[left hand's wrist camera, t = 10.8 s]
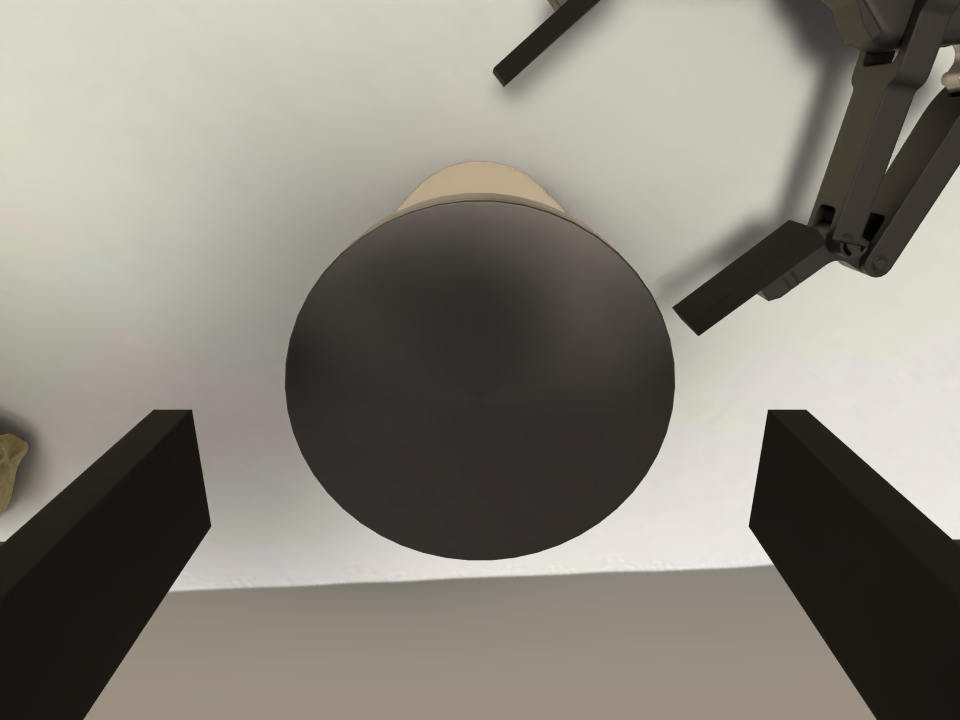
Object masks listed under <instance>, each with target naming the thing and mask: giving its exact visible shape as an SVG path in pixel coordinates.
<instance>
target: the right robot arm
mask: <svg viewBox="0 0 960 720" xmlns="http://www.w3.org/2000/svg"><path fill="white" fill-rule="evenodd" d="M599 1H600V0H548V2H549V3H550V5H551V6H552V7H553V9H554V10H555V13H554V14H553V15H551V16H550V17H549V18H548V19H547V20H546V21H545V22H544V23H543V24H542V25H540V26H539V27H538V28H537V29H536V30H535V31H534V32H533V33H532V34H531V35H529V36H528V37H527V38H526V39H525V40H524V41H523V42H522V43H521V44H520V45H519V46H517V47H516V48H515V49H514V50H513V51H512V52H511V53H510V54H509V55H508V56H506V57H505V58H504V59H503V60H502V61H501V62H500V63H499V64H498V65H497V66H495V67H494V70H493V74H494V75H495V76H496V78H497V79H498V80H499V81H500V83H501V84H502V85H503V87H504V86H506V85H507V84H508V83H509V82H510V81H511V80H512V79H513V78H514V77H516V76H517V75H518V74H519V73H520V72H521V71H522V70H523V69H524V68H526V67H527V66H528V65H529V64H530V63H531V62H532V61H533V60H534V59H536V58H537V57H538V56H539V55H540V54H541V53H542V52H543V51H544V50H546V49H547V48H548V47H549V46H550V45H551V44H552V43H553V42H554V41H556V40H557V39H558V38H559V37H560V36H561V35H562V34H563V33H565V32H566V31H567V30H568V29H569V28H570V27H571V26H572V25H573V24H575V23H576V22H577V21H578V20H579V19H580V18H581V17H582V16H583V15H585V14H586V13H587V12H588V11H589V10H590V9H591V8H592V7H593V6H595V5H596V4H597V3H598V2H599ZM821 1H822V2H823V3H824V4H825V5H826V6H828V7H829V8H830V9H831V10H832V13H833V17H834V21H835V25H836V29H837V31H838V33H839V35H840V37H841V38H842V40H843V42H844V43H845V45H846V46H848V45H854V46H855V47H856V48H858V49H860V50H861V52H860V55H859V58H858V61H857V64H856V66H855V69H854V72H853V76H852V85H853V93H852V96H851V99H850V102H849V105H848V108H847V111H846V114H845V117H844V120H843V122H842V125H841V128H840V131H839V134H838V137H837V140H836V143H835V146H834V149H833V152H832V155H831V158H830V161H829V164H828V167H827V170H826V172H825V175H824V178H823V181H822V184H821V187H820V190H819V193H818V196H817V199H816V202H815V205H814V208H813V211H812V214H811V217H810V220H809V222H808V225H807V226H806V225H803V224H800V223H797V222H794V221H791V220H789V221H787V222H786V223H785V224H783V225H782V226H781V227H779V228H778V229H777V230H775V231H774V232H773V233H771V234H770V235H769V236H767V237H766V238H765V239H763V240H762V241H761V242H759V243H758V244H757V245H755V246H754V247H753V248H751V249H750V250H749V251H747V252H746V253H745V254H743V255H742V256H741V257H739V258H738V259H737V260H735V261H734V262H733V263H731V264H730V265H729V266H727V267H726V268H725V269H723V270H722V271H721V272H719V273H718V274H716V275H715V276H714V277H712V278H711V279H710V280H708V281H707V282H706V283H704V284H703V285H702V286H700V287H699V288H698V289H696V290H695V291H694V292H692V293H691V294H690V295H688V296H687V297H686V298H684V299H683V300H682V301H680V302H679V303H678V304H676V305H675V306H674V307H672V308H673V309H674V310H675V312H676V313H677V314H678V316H679V317H680V318H681V319H682V320H683V321H684V322H685V323H686V324H687V325H688V326H689V327H690V328H691V329H692V330H693V331H694V332H695V333H696V334H697V335H698V336H699V335H701V334H702V333H703V332H705V331H706V330H708V329H709V328H710V327H712V326H713V325H714V324H716V323H717V322H719V321H720V320H721V319H723V318H724V317H725V316H727V315H728V314H730V313H731V312H732V311H734V310H735V309H736V308H738V307H739V306H741V305H742V304H743V303H745V302H746V301H747V300H749V299H750V298H752V297H753V296H754V295H756V294H758V295H760V296H761V297H763V298H764V299H766V300H768V301H771V300H774V299H777V298H781V297H782V296H783V295H785V294H786V293H788V292H789V291H790V290H791V289H793V288H794V287H796V286H797V285H799V283H801V282H803V281H804V280H806V279H807V278H808V277H810V276H811V275H812V274H814V273H815V272H817V271H818V270H819V269H821V268H822V267H824V266H825V265H826V264H828V263H830V262H833V261H838V262H839V263H841V264H842V265H844V266H846V267H849V268H851V269H854V270H856V271H859V272H861V273H864V274H866V275H869V276H872V277H881V276H883V275H885V274H887V273H888V272H889V270H890V269H891V268H892V266H893V265H894V263H895V262H896V260H897V259H898V257H899V256H900V254H901V253H902V251H903V250H904V248H905V247H906V245H907V244H908V242H909V241H910V239H911V238H912V236H913V235H914V233H915V231H916V230H917V228H918V227H919V225H920V224H921V222H922V221H923V219H924V218H925V216H926V215H927V213H928V212H929V210H930V209H931V207H932V206H933V204H934V203H935V201H936V200H937V198H938V197H939V195H940V194H941V192H942V190H943V189H944V187H945V186H946V184H947V183H948V181H949V180H950V178H951V177H952V175H953V174H954V172H955V171H956V169H957V168H958V166H959V165H960V0H821ZM951 45H952V46H953V48H954V50H955V60H954V63H953V65H952V66H951V68H950V69H949V71H948V72H946V73H945V74H944V75H943V76H942V78H941V83H942V85H944V86H946V87H945V88H944V89H943V90H942V91H941V92H940V93H939V94H938V95H937V96H936V97H935V98H934V99H933V100H932V102H931V103H930V104H929V105H928V107H927V108H926V110H925V111H924V113H923V114H922V116H921V117H920V119H919V121H918V122H917V124H916V125H915V127H914V129H913V130H912V132H911V133H910V135H909V137H908V138H907V140H906V141H905V143H904V145H903V146H902V148H901V149H900V151H899V153H898V154H897V156H896V157H895V159H894V161H893V162H892V164H891V165H890V167H889V169H888V170H887V172H886V169H887V167H888V164H889V161H890V158H891V156H892V153H893V150H894V148H895V145H896V142H897V140H898V137H899V134H900V131H901V129H902V126H903V123H904V121H905V118H906V115H907V112H908V110H909V107H910V104H911V102H912V99H913V96H914V94H915V92H916V91H917V90H918V89H919V88H920V87H921V86H922V85H923V84H924V83H925V82H926V80H927V79H928V77H929V74H930V72H931V69H932V66H933V64H934V61H935V58H936V56H937V53H938V50H939V48H940V47H947V46H951ZM895 51H899V52H898V55H897V57H896V59H895V60H894V61H893V62H892V60H893V57H894V54H895ZM885 172H886V173H885Z"/></svg>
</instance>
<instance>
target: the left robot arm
mask: <svg viewBox="0 0 960 720" xmlns="http://www.w3.org/2000/svg"><path fill="white" fill-rule="evenodd" d="M210 527H211V522H210V516H209V510H208V504H207V498H206V492H205V486H204V480H203V474H202V468H201V462H200V455H199V449H198V443H197V437H196V431H195V425H194V419H193V413H192V410H153V411H152V412H151V413H150V414H149V415H147V416H146V417H145V418H144V419H143V420H142V421H141V422H139V423H138V424H137V425H136V426H135V427H134V428H133V429H132V430H130V431H129V432H128V433H127V434H126V435H125V436H124V437H123V438H121V439H120V440H119V441H118V442H117V443H116V444H115V445H114V446H112V447H111V448H110V449H109V450H108V451H107V452H106V453H105V454H103V455H102V456H101V457H100V458H99V459H98V460H97V461H96V462H94V463H93V464H92V465H91V466H90V467H89V468H88V469H87V470H85V471H84V472H83V473H82V474H81V475H80V476H79V477H78V478H76V479H75V480H74V481H73V482H72V483H71V484H70V485H68V486H67V487H66V488H65V489H64V490H63V491H62V492H61V493H59V494H58V495H57V496H56V497H55V498H54V499H53V500H52V501H50V502H49V503H48V504H47V505H46V506H45V507H44V508H43V509H41V510H40V511H39V512H38V513H37V514H36V515H35V516H34V517H32V518H31V519H30V520H29V521H28V522H27V523H26V524H25V525H23V526H22V527H21V528H20V529H19V530H18V531H17V532H16V533H14V534H13V535H12V536H11V537H10V538H9V539H8V540H7V541H5V542H0V720H83V719H84V718H85V716H86V715H87V713H88V712H89V710H90V709H91V707H92V706H93V704H94V703H95V701H96V700H97V698H98V697H99V695H100V694H101V692H102V691H103V689H104V687H105V686H106V684H107V683H108V681H109V680H110V678H111V677H112V675H113V674H114V672H115V671H116V669H117V668H118V666H119V665H120V663H121V662H122V660H123V659H124V657H125V656H126V654H127V653H128V651H129V650H130V648H131V647H132V645H133V644H134V642H135V641H136V639H137V638H138V636H139V635H140V633H141V632H142V630H143V629H144V627H145V626H146V624H147V623H148V621H149V620H150V618H151V617H152V615H153V613H154V612H155V610H156V609H157V607H158V606H159V604H160V603H161V601H162V600H163V598H164V597H165V595H166V594H167V592H168V591H169V589H170V588H171V586H172V585H173V583H174V582H175V580H176V579H177V577H178V576H179V574H180V573H181V571H182V570H183V568H184V567H185V565H186V564H187V562H188V561H189V559H190V558H191V556H192V555H193V553H194V552H195V550H196V549H197V547H198V546H199V544H200V543H201V541H202V539H203V538H204V536H205V535H206V533H207V532H208V530H209V529H210ZM749 527H750V529H751V530H752V532H753V533H754V535H755V536H756V538H757V540H758V541H759V543H760V544H761V546H762V547H763V549H764V550H765V552H766V553H767V555H768V556H769V558H770V559H771V561H772V562H773V564H774V565H775V567H776V568H777V570H778V571H779V573H780V574H781V576H782V577H783V579H784V580H785V582H786V583H787V585H788V586H789V588H790V589H791V591H792V592H793V594H794V595H795V597H796V598H797V600H798V601H799V603H800V604H801V606H802V607H803V609H804V610H805V612H806V614H807V615H808V617H809V618H810V620H811V621H812V622H813V624H814V626H815V627H816V629H817V630H818V632H819V633H820V635H821V636H822V638H823V639H824V641H825V642H826V644H827V645H828V647H829V648H830V650H831V651H832V653H833V654H834V656H835V657H836V659H837V660H838V662H839V663H840V665H841V666H842V668H843V669H844V671H845V672H846V674H847V675H848V677H849V678H850V680H851V681H852V683H853V684H854V686H855V687H856V689H857V690H858V692H859V693H860V695H861V696H862V698H863V700H864V701H865V703H866V704H867V706H868V707H869V708H870V710H871V712H872V713H873V715H874V716H875V718H876V719H877V720H960V540H952V539H951V538H950V537H949V536H948V535H947V534H946V533H944V532H943V531H942V530H941V529H940V528H939V527H938V526H937V525H935V524H934V523H933V522H932V521H931V520H930V519H929V518H928V517H926V516H925V515H924V514H923V513H922V512H921V511H920V510H919V509H917V508H916V507H915V506H914V505H913V504H912V503H911V502H910V501H908V500H907V499H906V498H905V497H904V496H903V495H902V494H901V493H899V492H898V491H897V490H896V489H895V488H894V487H893V486H892V485H890V484H889V483H888V482H887V481H886V480H885V479H884V478H882V477H881V476H880V475H879V474H878V473H877V472H876V471H875V470H873V469H872V468H871V467H870V466H869V465H868V464H867V463H866V462H864V461H863V460H862V459H861V458H860V457H859V456H858V455H857V454H855V453H854V452H853V451H852V450H851V449H850V448H849V447H848V446H846V445H845V444H844V443H843V442H842V441H841V440H840V439H839V438H837V437H836V436H835V435H834V434H833V433H832V432H831V431H830V430H828V429H827V428H826V427H825V426H824V425H823V424H822V423H821V422H819V421H818V420H817V419H816V418H815V417H814V416H813V415H811V414H810V413H809V412H808V411H807V410H768V413H767V419H766V425H765V431H764V437H763V443H762V449H761V455H760V462H759V468H758V474H757V480H756V486H755V492H754V498H753V504H752V510H751V516H750V522H749Z"/></svg>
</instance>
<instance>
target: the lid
mask: <svg viewBox="0 0 960 720" xmlns="http://www.w3.org/2000/svg"><path fill="white" fill-rule="evenodd" d="M285 391H286V400H287V409H288V414H289V418H290V422H291V425H292V429H293V433H294V436H295V438H296V440H297V443H298V445H299V448H300V450H301V453H302V455H303V457H304V458H305V460H306V462H307V464H308V465H309V467H310V469H311V471H312V472H313V474H314V476H315V477H316V478H317V480H318V481H319V482H320V483H321V485H322V486H323V487H324V489H325V490H326V491H327V493H328V494H329V495H330V496H331V497H332V498H333V499H334V500H335V501H336V502H337V503H338V504H339V505H340V506H341V507H342V508H343V509H344V510H345V511H346V512H348V513H349V514H350V515H351V516H353V517H354V518H355V519H356V520H358V521H359V522H360V523H361V524H363V525H365V526H366V527H368V528H370V529H371V530H373V531H374V532H376V533H378V534H379V535H381V536H383V537H385V538H387V539H389V540H391V541H393V542H395V543H398V544H400V545H402V546H405V547H408V548H411V549H414V550H417V551H419V552H422V553H426V554H431V555H435V556H440V557H444V558H452V559H461V560H499V559H508V558H516V557H520V556H525V555H529V554H534V553H538V552H541V551H543V550H546V549H549V548H552V547H555V546H558V545H560V544H562V543H565V542H567V541H569V540H571V539H573V538H575V537H577V536H579V535H581V534H583V533H584V532H586V531H587V530H589V529H591V528H592V527H594V526H595V525H597V524H598V523H600V522H601V521H602V520H604V519H605V518H606V517H607V516H609V515H610V514H611V513H612V512H614V511H615V510H616V509H617V508H618V507H619V506H620V505H621V504H622V503H623V502H624V501H625V500H626V499H627V498H628V497H629V496H630V495H631V494H632V493H633V491H634V490H635V489H636V487H637V486H638V485H639V484H640V482H641V481H642V480H643V478H644V477H645V476H646V474H647V473H648V471H649V469H650V467H651V465H652V464H653V462H654V460H655V458H656V457H657V455H658V453H659V450H660V448H661V445H662V443H663V440H664V438H665V436H666V433H667V429H668V426H669V422H670V418H671V414H672V410H673V401H674V391H675V370H674V358H673V353H672V347H671V342H670V337H669V334H668V331H667V328H666V325H665V322H664V319H663V316H662V314H661V312H660V310H659V308H658V306H657V304H656V302H655V300H654V298H653V296H652V294H651V292H650V291H649V290H648V288H647V287H646V285H645V284H644V282H643V281H642V279H641V278H640V277H639V275H638V274H637V272H636V271H635V270H634V269H633V268H632V267H631V266H630V265H629V264H628V263H627V262H626V260H625V259H624V258H623V257H622V256H621V255H620V254H619V253H618V252H617V251H616V250H615V249H614V248H613V247H612V246H611V245H610V244H609V243H608V242H607V241H605V240H604V239H603V238H602V237H600V236H599V235H598V234H597V233H595V232H594V231H593V230H592V229H590V228H589V227H588V226H587V225H585V224H583V223H582V222H580V221H578V220H577V219H575V218H573V217H572V216H570V215H568V214H567V213H565V212H562V211H560V210H558V209H555V208H553V207H551V206H548V205H546V204H544V203H541V202H537V201H533V200H530V199H526V198H523V197H519V196H512V195H505V194H497V193H463V194H455V195H448V196H441V197H437V198H434V199H430V200H427V201H423V202H419V203H416V204H414V205H412V206H409V207H407V208H405V209H402V210H400V211H398V212H395V213H393V214H392V215H390V216H388V217H387V218H385V219H383V220H382V221H380V222H378V223H377V224H375V225H373V226H372V227H371V228H369V229H368V230H367V231H366V232H365V233H363V234H362V235H361V236H360V237H358V238H357V239H356V240H355V241H353V242H352V243H351V244H350V245H349V246H348V247H347V248H346V249H345V250H344V251H343V252H342V253H341V254H340V255H339V256H338V257H337V258H336V259H335V260H334V262H333V263H332V264H331V265H330V266H329V267H328V268H327V269H326V270H325V271H324V272H323V274H322V275H321V277H320V278H319V279H318V281H317V282H316V284H315V285H314V287H313V288H312V290H311V291H310V292H309V294H308V296H307V298H306V300H305V302H304V304H303V306H302V308H301V310H300V312H299V314H298V316H297V319H296V322H295V325H294V328H293V331H292V334H291V337H290V341H289V347H288V353H287V359H286V370H285Z"/></svg>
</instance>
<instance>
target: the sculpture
mask: <svg viewBox="0 0 960 720" xmlns="http://www.w3.org/2000/svg"><path fill="white" fill-rule="evenodd" d="M28 447H29V446H28V443H27V442H26V441H24V440H22V439H20V438H19V437H17V436H15V435H13V434H10V433H7V434H3V435H0V517H1V516H2V514H3V513H4V512H5V510H6V508H7V506H8V504H9V502H10V499H11V496H12V492H13V488H14V484H15V476H16V471H17V468H18V466H19V464H20V462H21V460H22V458H23V457H24V456H25V455H26V453H27V451H28Z"/></svg>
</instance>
